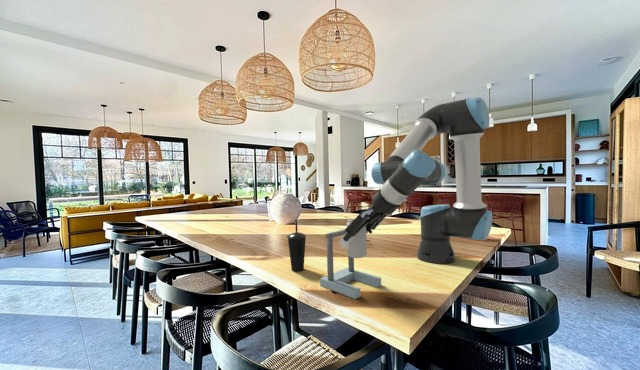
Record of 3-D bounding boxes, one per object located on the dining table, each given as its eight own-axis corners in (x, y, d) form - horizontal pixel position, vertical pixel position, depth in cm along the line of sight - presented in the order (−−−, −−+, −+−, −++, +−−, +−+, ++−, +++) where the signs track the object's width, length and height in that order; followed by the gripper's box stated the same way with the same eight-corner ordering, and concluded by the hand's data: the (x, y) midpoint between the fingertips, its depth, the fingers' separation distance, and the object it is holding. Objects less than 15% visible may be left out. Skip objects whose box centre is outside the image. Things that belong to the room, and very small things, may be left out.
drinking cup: (310, 267, 111) (309, 218, 110) (301, 274, 104) (299, 221, 103) (294, 265, 114) (292, 217, 113) (284, 271, 107) (282, 220, 107)
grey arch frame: (381, 285, 92) (380, 231, 91) (355, 299, 82) (354, 239, 81) (346, 274, 102) (345, 226, 102) (320, 285, 93) (318, 233, 92)
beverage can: (345, 253, 92) (344, 218, 92) (364, 252, 93) (363, 217, 93) (349, 259, 86) (348, 221, 86) (369, 258, 87) (368, 220, 86)
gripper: (379, 209, 71) (334, 259, 83) (414, 203, 85) (371, 246, 97) (362, 189, 75) (322, 239, 87) (398, 186, 88) (358, 229, 101)
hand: (348, 243), depth 92 cm, fingers closed on beverage can, 6 cm apart
